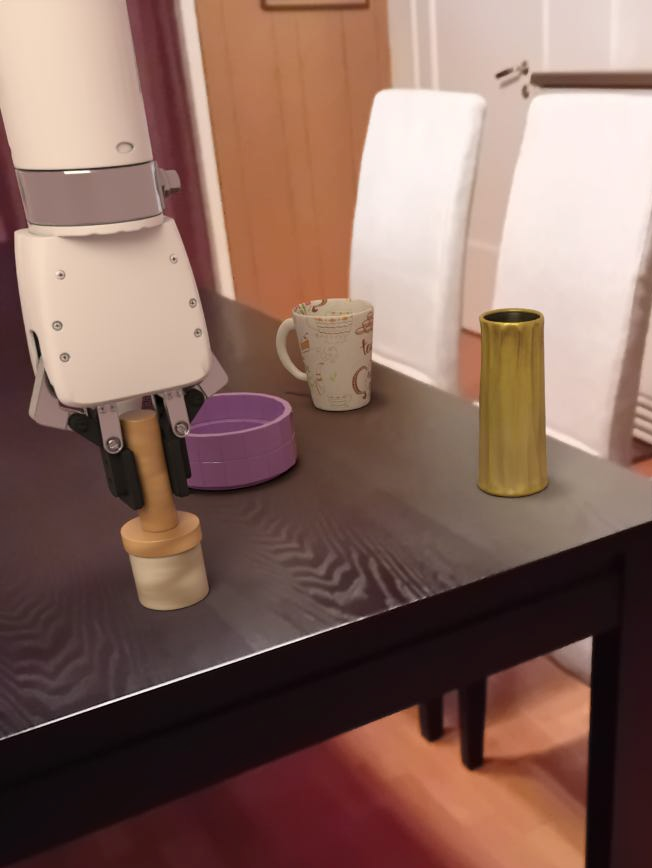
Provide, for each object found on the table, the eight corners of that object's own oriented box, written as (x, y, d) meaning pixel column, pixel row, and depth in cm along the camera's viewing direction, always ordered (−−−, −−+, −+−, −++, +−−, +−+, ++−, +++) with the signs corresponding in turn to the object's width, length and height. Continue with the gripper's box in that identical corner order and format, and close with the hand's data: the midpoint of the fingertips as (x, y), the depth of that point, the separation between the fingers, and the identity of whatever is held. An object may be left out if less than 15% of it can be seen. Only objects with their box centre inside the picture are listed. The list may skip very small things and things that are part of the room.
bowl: (195, 505, 85) (185, 446, 82) (140, 466, 93) (129, 411, 91) (322, 470, 91) (316, 414, 88) (260, 436, 99) (252, 384, 97)
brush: (152, 619, 68) (111, 433, 61) (125, 592, 72) (83, 413, 65) (224, 596, 71) (192, 415, 64) (194, 571, 74) (160, 397, 68)
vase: (529, 467, 91) (529, 303, 83) (560, 490, 86) (563, 318, 78) (466, 478, 89) (461, 311, 81) (495, 503, 84) (492, 328, 76)
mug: (351, 419, 103) (341, 319, 98) (255, 403, 109) (242, 308, 104) (395, 397, 110) (389, 302, 104) (303, 383, 115) (292, 292, 110)
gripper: (196, 181, 65) (239, 454, 74) (-73, 208, 56) (13, 512, 66) (249, 191, 60) (287, 483, 69) (-39, 222, 51) (49, 550, 61)
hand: (153, 495), depth 67 cm, fingers closed on brush, 2 cm apart
